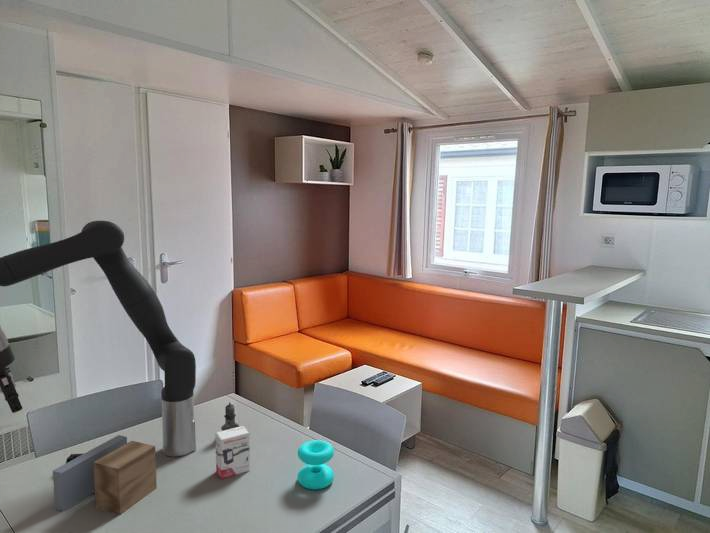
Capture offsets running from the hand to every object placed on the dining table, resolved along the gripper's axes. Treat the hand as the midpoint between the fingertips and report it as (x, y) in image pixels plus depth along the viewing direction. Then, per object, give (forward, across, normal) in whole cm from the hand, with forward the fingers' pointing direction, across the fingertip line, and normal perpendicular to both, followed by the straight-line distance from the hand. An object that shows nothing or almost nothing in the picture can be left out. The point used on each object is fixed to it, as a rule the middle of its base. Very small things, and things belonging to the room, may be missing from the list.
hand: (14, 404), depth 120 cm
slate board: (+27, -11, -8) cm, 30 cm away
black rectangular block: (+28, +2, -7) cm, 29 cm away
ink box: (+34, -29, -39) cm, 59 cm away
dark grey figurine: (+37, -10, -48) cm, 62 cm away
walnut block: (+27, -22, -13) cm, 37 cm away
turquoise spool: (+36, -49, -53) cm, 80 cm away
